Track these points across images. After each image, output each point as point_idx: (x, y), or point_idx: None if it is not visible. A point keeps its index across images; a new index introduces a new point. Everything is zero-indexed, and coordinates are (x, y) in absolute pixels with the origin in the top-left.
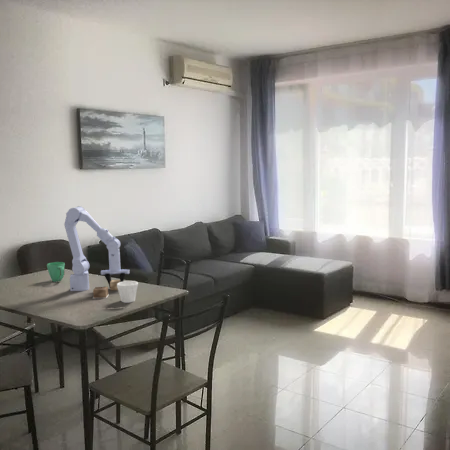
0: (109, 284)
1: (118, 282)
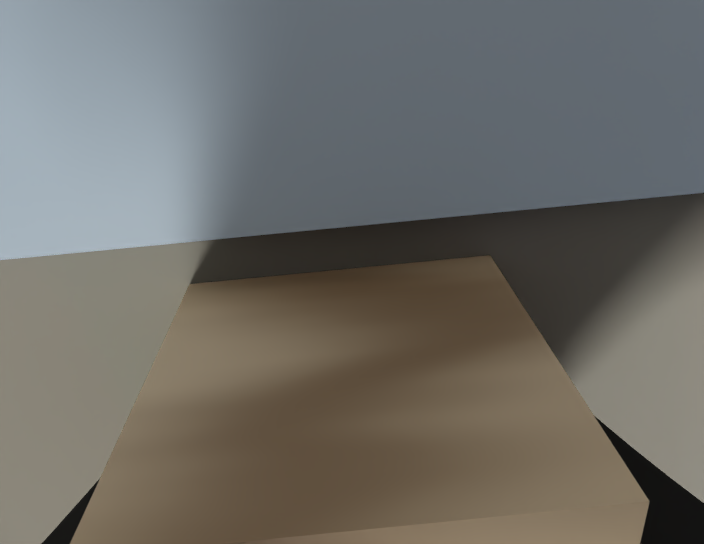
0: None
1: (147, 523)
